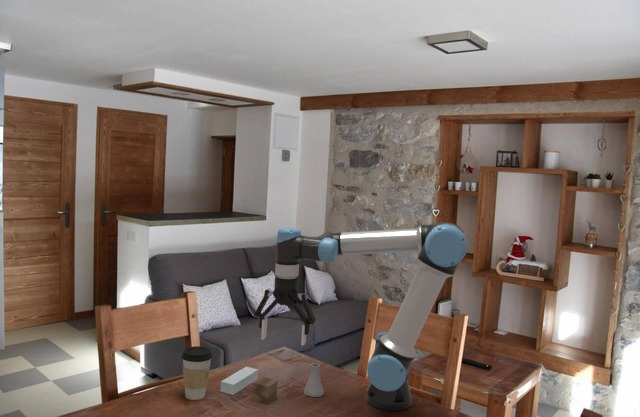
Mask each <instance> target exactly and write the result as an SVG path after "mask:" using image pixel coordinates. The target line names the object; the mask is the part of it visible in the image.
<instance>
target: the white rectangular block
mask: <svg viewBox="0 0 640 417" xmlns="http://www.w3.org/2000/svg"><path fill="white" fill-rule="evenodd" d="M257 379H259V369H258V368H254V367H249V366H245V367H243V368H241V369H240V370H238V371H236V372H235V373H233V374H231V375H229V376H228V377H226V378H225V379H223V380H221V381H220V390H219V391H220V393H224V394H228V395H230V396H231V395H232V396H234V395H235V394H238V393H239V392H240V391H242V390H244V388H247V387H248V386H249V385H251V384H252V382H254V381H255V380H257Z"/></svg>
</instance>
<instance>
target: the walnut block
mask: <svg viewBox="0 0 640 417" xmlns="http://www.w3.org/2000/svg"><path fill="white" fill-rule="evenodd" d="M251 384H252V385H251V386H252V387H251V401H253V402H256V403H261V404H264V405H267V406H268V405H269V404H270V403H272V402H273V401H275V399H277V397H278V396H277V394H278V380H277V379H274V378H270V377H265V376H260V377H258V379H257V380H255V381H254V382H252V383H251Z"/></svg>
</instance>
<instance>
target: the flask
mask: <svg viewBox="0 0 640 417" xmlns="http://www.w3.org/2000/svg"><path fill="white" fill-rule="evenodd" d="M310 366H311V371H310V375H309V377H308V379H307V380H308V381H307V382H306V385H305V387H304V389H303V395H305V396H309V397H311V398H321V397H323V395H325V391H324V387H323V384H322V380H321V375H320V368H321V363H320V364H319V363H318V362H316V363H315V362H313V363H311V364H310Z"/></svg>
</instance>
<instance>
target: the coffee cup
mask: <svg viewBox="0 0 640 417" xmlns="http://www.w3.org/2000/svg"><path fill="white" fill-rule="evenodd" d="M181 359H182V373H183V376H182V377H183V386H184V395H185V398H186V399H187V400H191V401H196V400H202V399H203V398H205V396H206V390H207V386H208V382H209V377H210V376H209V375H210V370H211V369H210V368H211V362H212V361H211V360H212V359H213V353H212V349H210V348H209V347H207V346H206V347H205V346H201V345H200V346H195V345H194V346H189V347H187V348H184V350H183V352H182V354H181Z"/></svg>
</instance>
